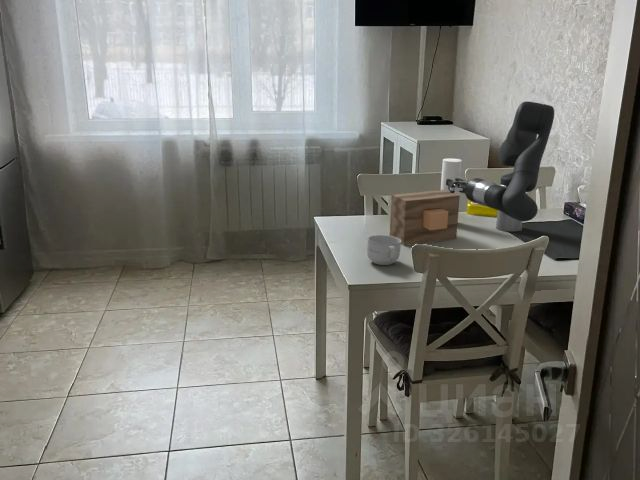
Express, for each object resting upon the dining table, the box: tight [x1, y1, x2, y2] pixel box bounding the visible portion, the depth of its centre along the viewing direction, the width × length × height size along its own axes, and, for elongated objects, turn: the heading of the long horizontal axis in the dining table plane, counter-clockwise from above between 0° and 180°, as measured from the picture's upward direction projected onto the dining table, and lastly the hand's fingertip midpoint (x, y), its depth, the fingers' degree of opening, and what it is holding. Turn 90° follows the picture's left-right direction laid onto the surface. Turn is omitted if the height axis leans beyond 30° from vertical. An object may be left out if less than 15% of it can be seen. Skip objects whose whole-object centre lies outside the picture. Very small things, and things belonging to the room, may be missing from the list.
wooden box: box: [389, 189, 461, 246], centre depth 224 cm, size 10×22×16 cm, turn 113°
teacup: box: [366, 234, 402, 266], centre depth 199 cm, size 14×11×8 cm
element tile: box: [466, 199, 498, 218], centre depth 264 cm, size 15×15×5 cm
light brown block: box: [422, 208, 448, 230], centre depth 219 cm, size 8×7×6 cm
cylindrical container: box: [440, 157, 463, 196], centre depth 243 cm, size 7×7×25 cm
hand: (451, 181), depth 206 cm, fingers open, 3 cm apart
